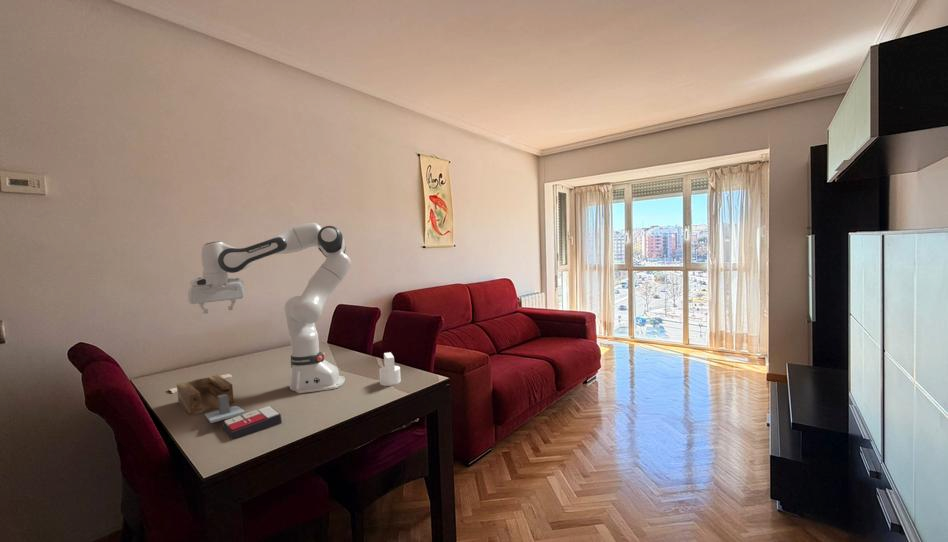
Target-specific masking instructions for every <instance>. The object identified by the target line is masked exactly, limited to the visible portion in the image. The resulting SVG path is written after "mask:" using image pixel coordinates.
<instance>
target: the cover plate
mask: <svg viewBox="0 0 948 542" xmlns="http://www.w3.org/2000/svg"><path fill="white" fill-rule="evenodd" d="M217 398H218V406H219V408H218V410H214V411H211V412H207V413H204V416H205V418H206V419H207V420H208V422H210V424H212V423H216V422H221V421H223V420H224V421H225V420H228V419H231V418H234V417H237V416H242V414H245V413H246V410H244V409H243V408H241V407H239V406H238V405H234V406H230V404H229V400H228V395H227V394H223V395H219V396H217Z"/></svg>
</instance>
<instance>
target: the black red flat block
mask: <svg viewBox="0 0 948 542" xmlns="http://www.w3.org/2000/svg"><path fill="white" fill-rule="evenodd" d="M282 421H283V420H282V415H281V413H280V412H278V410H276V409H275V408H273V407H272V406H270V405H268V406H264V407H262V408H259V409H254V410H251V411H249V412H245V414H241V415H238V416H234V417H231V418H227V419H224V421H223V422H222V428H223V431H224V432H225V434H226V435H227V436H228V437H229V438H230V440H237V439H239V438H242V437H245V436H248V435H252V434H254V433H258V432H260V431H264V430H266V429H270V428H272V427H275V426H278V425H281V424H282Z"/></svg>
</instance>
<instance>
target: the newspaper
mask: <svg viewBox="0 0 948 542" xmlns="http://www.w3.org/2000/svg"><path fill="white" fill-rule="evenodd" d="M219 376H220V377H222V378H223V379H225V380H228V379H231V378H233V375H232V374H230V373H226V374H221V375H219ZM167 392H171V393H172V394H176V393H178V392H177V386H176V387H171V388H170V389H167Z"/></svg>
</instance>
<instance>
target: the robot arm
mask: <svg viewBox="0 0 948 542" xmlns="http://www.w3.org/2000/svg"><path fill="white" fill-rule="evenodd" d="M312 247H316V248H318V251H319V252H321V253H322V255H323V256H324V257H326V258H325V259H324V261H323V263H322V264H321V265H320V266H319V267H318V269H317V270H316V271H315V272H314V274H313V275H312V276H311V278H310V279H309V280H308V282H307V285H306V287H305V289H304V291H303V293H301V294H300V295H295V296H292V297H291V298H289V299H288V300H286V302H285V303H284V312H285V317H286V323H287V328H288V332H289V338H290V347H291V348H290V349H291V351H290V352H291V355H290V368H291V380H290V381H291V382H290V385H289V390H291V391H293V392H295V393H297V394H304V393H305V394H306V393H311V392H313V393H314V392H321V391H328V390H335V389H337V388H340V387H341V386H343V384H344V383H345V381H346V378H345V376H343V375H340V372H339V369H338V367H337V366H336V365H334V364H333V363H331V362H329V361H328V360H326V359H325V353H326V352H321V351H320V343H319V333H318V331H317V328H316V322H318V321H319V320H320V318H321V316H322V314H323V310H324V308H325V307H326V305H327V303H328V301H329V298H330V297H331V296H332V294H333V292H334V291H335V290H336V288H338V286H339V285H340V284H341V282H342V280H343V279H344V278H345V276H346V275H347V273H348V272H349V270H350V268H351V265H352V261H351V258H350V256H348V255H347V254H346V251H347V249H346V242H345V238H344V236H343V233H342V232H341V230H340V229H339V228H337V227H336V226H333V225H326V226H325V225H324V227H322V226H321V225H319V223H317V222H306V223H301V224H298V225H295V226H292V227H289V228H287V229H284V230H282V231H281V232H279V233H277V234H276V235H273V236H272V237H271V238H269V239H266V240H265V241H261V242H258V243H256V244H253V245H250V246H249V245H248V246H246V247H241V248H238V247H235V246H231V245H229V244H227V243H224V242H223V241H221V240H220V241H211V242H207V243H205V244H203V245H202V247H201V257H200V258H201V264H202V265H201V266H202V268H203V270H202V276H199V277H198V278H194V279H191V280H189V284H190V285H191V286H189V288H188V292H187V302H188V303H189V304H190V305H196V304H198V306H199V308H201V310H202V314H203V315H205V314H209V309H208V308H205V307H204V306H205V304H206V303H215V302H223V301H230V302H231V303H230V305H228V307H227V308H228V311H234V305H235V304H236V300H240V299H244V297H245V292H244V291H245V290H244V280H243V279H241V278H239V277H236V278H229V276H228V275H229V273H230V274H231V273H232V274H236V273H239V272H240V271H244V270H246V269H248V268H249V267H250V266H251V264H252V263H253V262H254V261H258V260H261V259H263V258H266V257H269V256H273V255H281V254H283V255H284V254H292V253H297V252H300V251H304V250H306V249H309V248H312Z"/></svg>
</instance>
